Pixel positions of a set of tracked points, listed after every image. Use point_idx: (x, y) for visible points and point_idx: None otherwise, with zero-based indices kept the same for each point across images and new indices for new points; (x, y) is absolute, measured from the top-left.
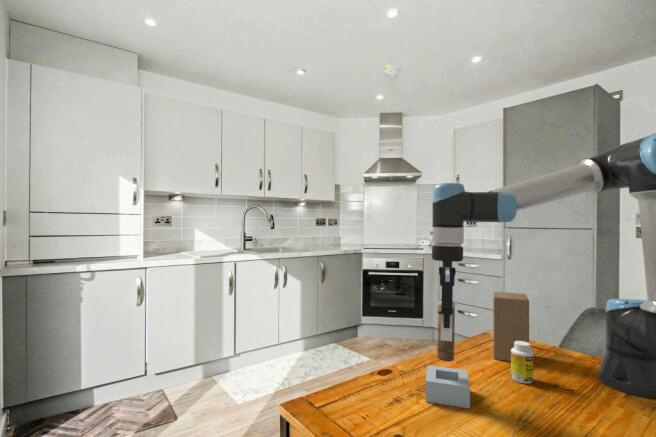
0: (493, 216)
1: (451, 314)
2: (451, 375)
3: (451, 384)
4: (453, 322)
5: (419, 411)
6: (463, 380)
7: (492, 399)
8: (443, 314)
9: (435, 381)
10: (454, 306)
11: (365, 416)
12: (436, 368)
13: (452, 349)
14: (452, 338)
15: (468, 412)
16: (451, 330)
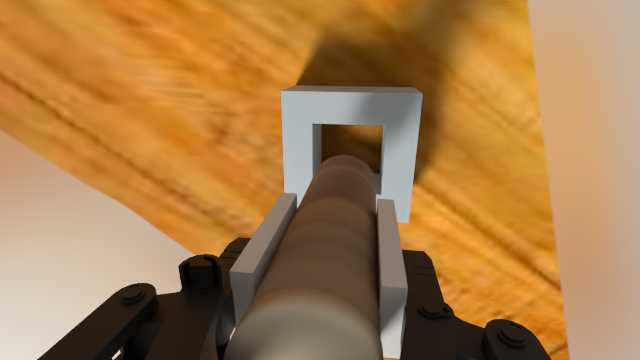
0: None
1: (447, 307)
2: (314, 141)
3: (416, 151)
4: (354, 235)
5: (457, 212)
6: (373, 110)
7: (337, 12)
8: (399, 340)
9: (405, 196)
10: (337, 307)
11: (501, 316)
12: (302, 189)
13: (363, 177)
14: (362, 197)
15: (436, 92)
16: (398, 230)
